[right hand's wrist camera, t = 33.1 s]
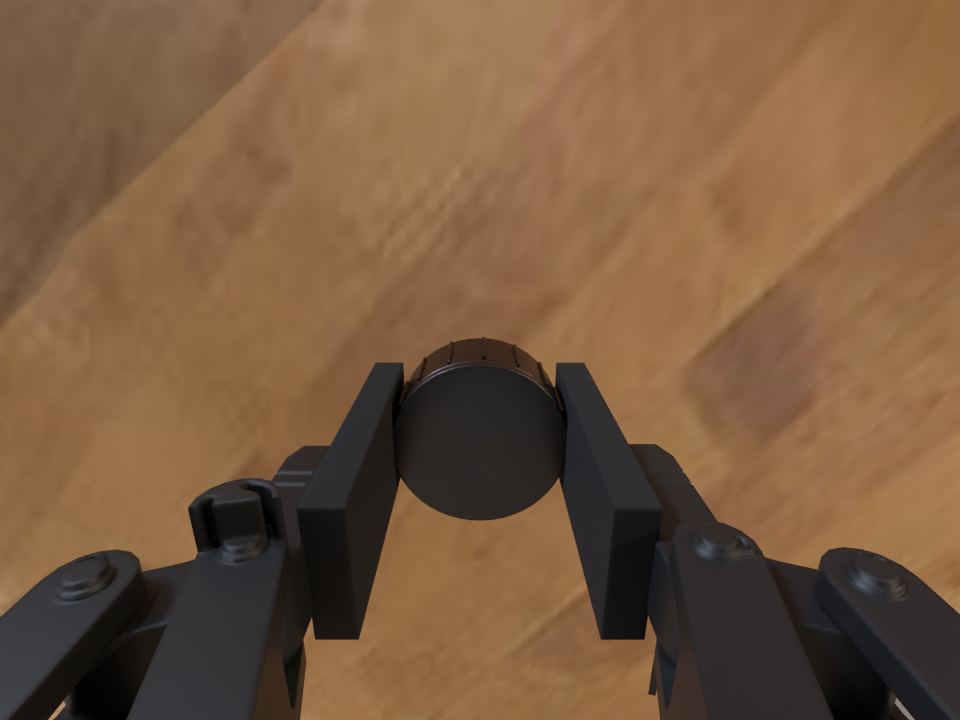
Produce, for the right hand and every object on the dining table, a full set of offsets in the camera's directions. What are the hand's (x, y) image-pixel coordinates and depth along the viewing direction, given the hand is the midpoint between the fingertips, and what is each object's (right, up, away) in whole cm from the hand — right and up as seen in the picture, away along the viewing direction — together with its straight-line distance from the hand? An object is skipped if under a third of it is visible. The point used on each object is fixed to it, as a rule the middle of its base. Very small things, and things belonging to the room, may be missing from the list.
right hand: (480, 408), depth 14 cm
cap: (0, -1, -2) cm, 2 cm away
